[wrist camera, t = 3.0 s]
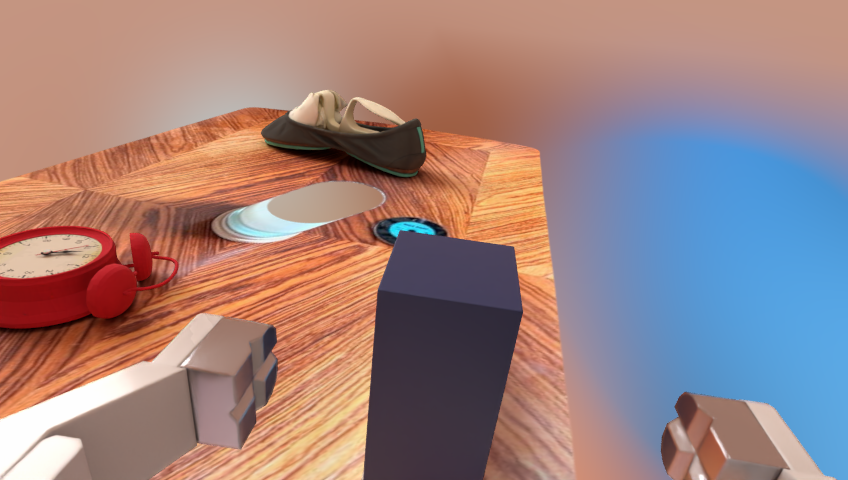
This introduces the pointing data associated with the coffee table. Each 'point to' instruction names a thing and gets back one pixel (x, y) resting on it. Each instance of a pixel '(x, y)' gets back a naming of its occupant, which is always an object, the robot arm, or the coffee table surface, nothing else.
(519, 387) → the coffee table surface
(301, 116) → the ballet flat
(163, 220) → the coffee table surface
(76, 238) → the alarm clock
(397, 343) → the dark blue l-shaped block
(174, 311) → the coffee table surface
